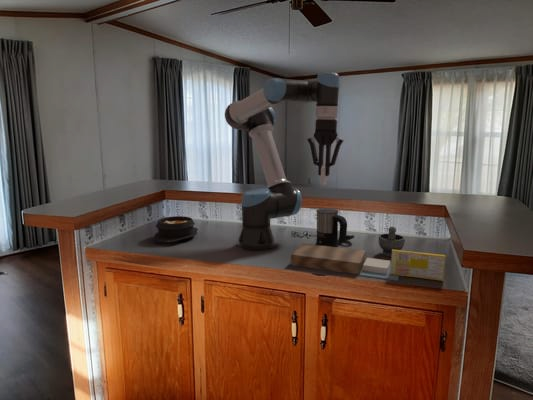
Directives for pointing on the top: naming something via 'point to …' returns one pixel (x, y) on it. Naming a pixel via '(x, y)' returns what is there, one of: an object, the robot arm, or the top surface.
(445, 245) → the top surface
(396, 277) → the mat
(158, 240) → the casserole
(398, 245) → the mortar and pestle
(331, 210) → the milk frother
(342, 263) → the panel
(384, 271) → the tile
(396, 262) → the candy box
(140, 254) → the top surface
